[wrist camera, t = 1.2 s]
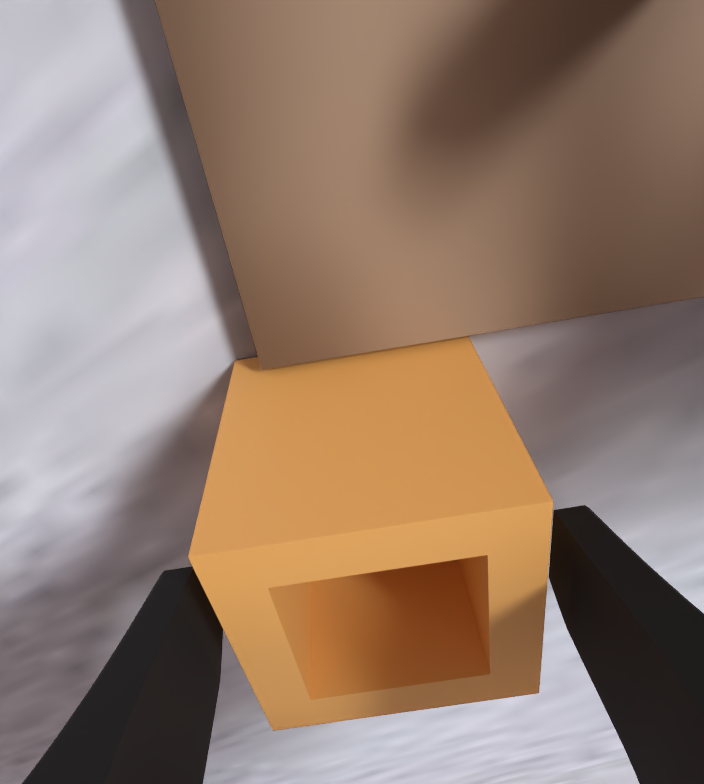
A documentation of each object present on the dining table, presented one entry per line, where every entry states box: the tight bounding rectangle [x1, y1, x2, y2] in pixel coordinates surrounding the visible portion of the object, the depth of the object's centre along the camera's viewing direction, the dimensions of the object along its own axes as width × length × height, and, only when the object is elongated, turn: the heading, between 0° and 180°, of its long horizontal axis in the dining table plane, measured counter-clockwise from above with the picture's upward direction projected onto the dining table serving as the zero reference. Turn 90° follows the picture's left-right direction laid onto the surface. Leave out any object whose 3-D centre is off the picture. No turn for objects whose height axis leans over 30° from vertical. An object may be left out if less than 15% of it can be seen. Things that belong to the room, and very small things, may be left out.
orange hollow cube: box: [188, 336, 553, 731], centre depth 12 cm, size 6×6×6 cm
